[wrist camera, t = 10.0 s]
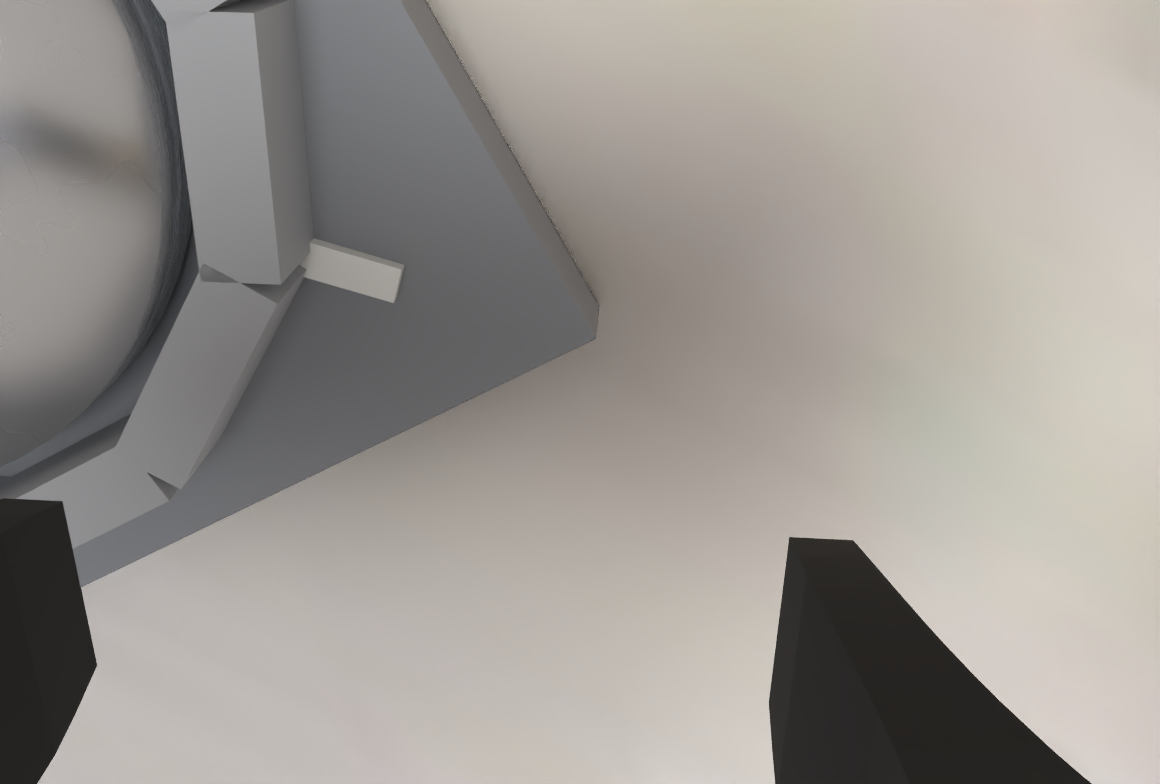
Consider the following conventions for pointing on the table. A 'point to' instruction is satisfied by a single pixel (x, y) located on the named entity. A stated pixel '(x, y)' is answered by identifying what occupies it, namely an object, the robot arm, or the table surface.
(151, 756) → the table surface
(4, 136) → the dial
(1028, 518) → the table surface
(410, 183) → the dial plate
